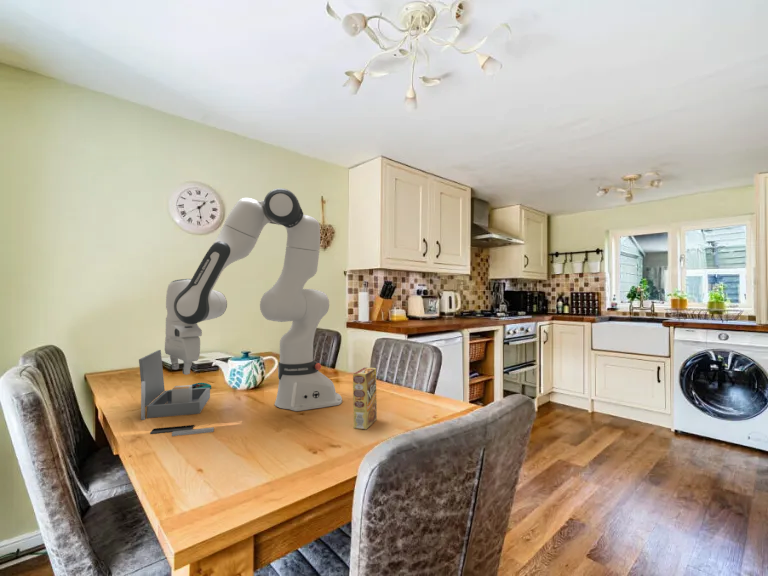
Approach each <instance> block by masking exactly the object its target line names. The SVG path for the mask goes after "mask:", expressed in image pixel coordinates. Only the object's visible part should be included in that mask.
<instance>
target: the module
mask: <svg viewBox="0 0 768 576" xmlns="http://www.w3.org/2000/svg"><path fill="white" fill-rule="evenodd" d="M171 390H172V403H185V402H192V384H187V385H175V386H173V388H172V389H171Z"/></svg>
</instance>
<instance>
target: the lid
mask: <svg viewBox="0 0 768 576" xmlns="http://www.w3.org/2000/svg"><path fill="white" fill-rule="evenodd" d="M162 360H163V359H162V351H161V349H157V350H156V351H154V352H151V353H149V354H147V355H145V356H143V357H141V358H139V359H138V363H139V364H138V365H139V376H140V383H141V382H142V381H145V408H147V406H148V405H149V404H150V403H152V402H153V401H154V400H155V399H156V398H157V397H158V396H160V395H161V394H162V393H163V392H164V391H166V389H165V379H164V370H163V369H164V368H163V361H162Z"/></svg>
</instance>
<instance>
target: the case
mask: <svg viewBox="0 0 768 576" xmlns="http://www.w3.org/2000/svg"><path fill="white" fill-rule="evenodd" d="M210 398H211V389H210V388H196V389H192V402H185V403H172V389H167V390H165V391H164V392H163V393H161V394H160V395H159V396H158V397H157V398H156V399H155V400H153V401H152V402H151V403H150V404H149V405H148V406H146V407H145V381H142V382H141V381H140V399H141V400H140V420H141V421H145V420H146V418H147V419H152V418H164V417H166V418H167V417H175V416H186V415H187V416H189V415H200V414H201V412H202V411H203V409H204V407H206V405H207V403H208V402H209V400H210Z"/></svg>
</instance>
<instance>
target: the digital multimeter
mask: <svg viewBox="0 0 768 576" xmlns="http://www.w3.org/2000/svg"><path fill="white" fill-rule="evenodd" d="M191 385H192V389H196V388H210V390H212V385H211V384H209V383H207V382H197V383H193V384H192V383H191Z"/></svg>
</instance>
